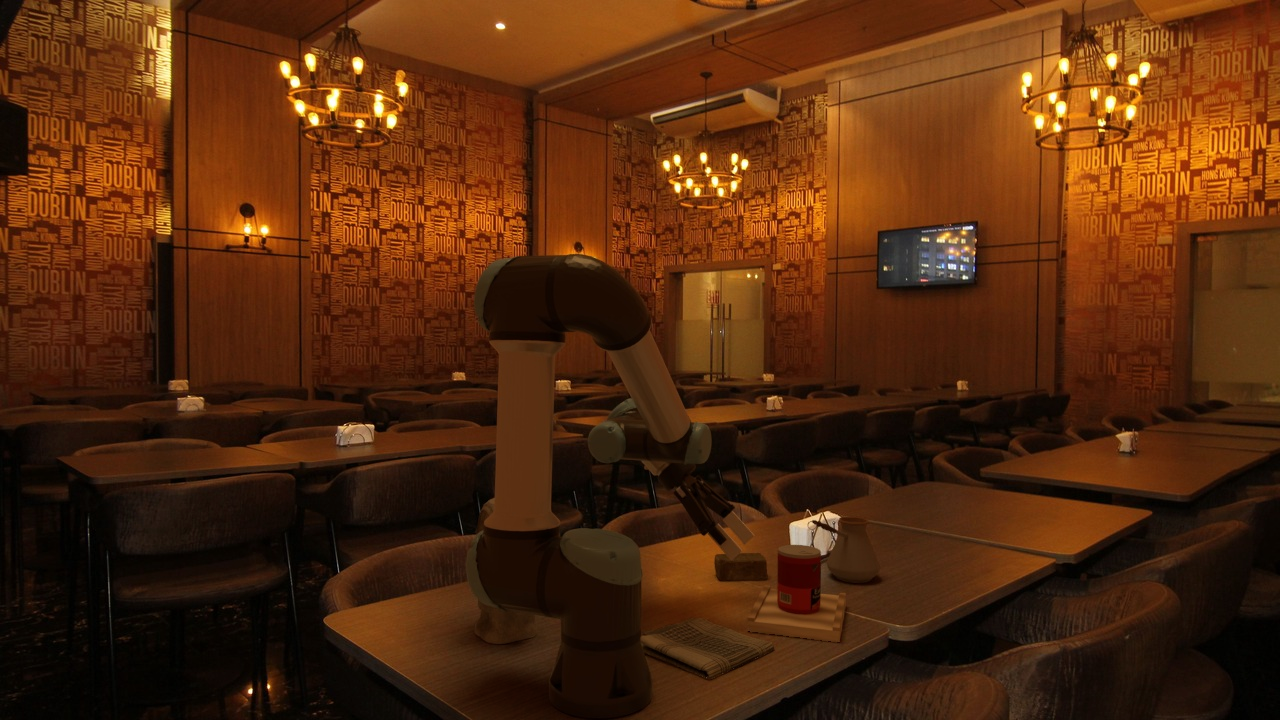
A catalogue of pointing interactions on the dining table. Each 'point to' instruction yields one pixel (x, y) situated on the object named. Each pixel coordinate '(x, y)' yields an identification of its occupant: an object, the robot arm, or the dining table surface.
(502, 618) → the figurine
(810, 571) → the canned food
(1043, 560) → the dining table surface
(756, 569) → the stone block
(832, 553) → the coffee pot
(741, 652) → the dish towel
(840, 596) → the board
